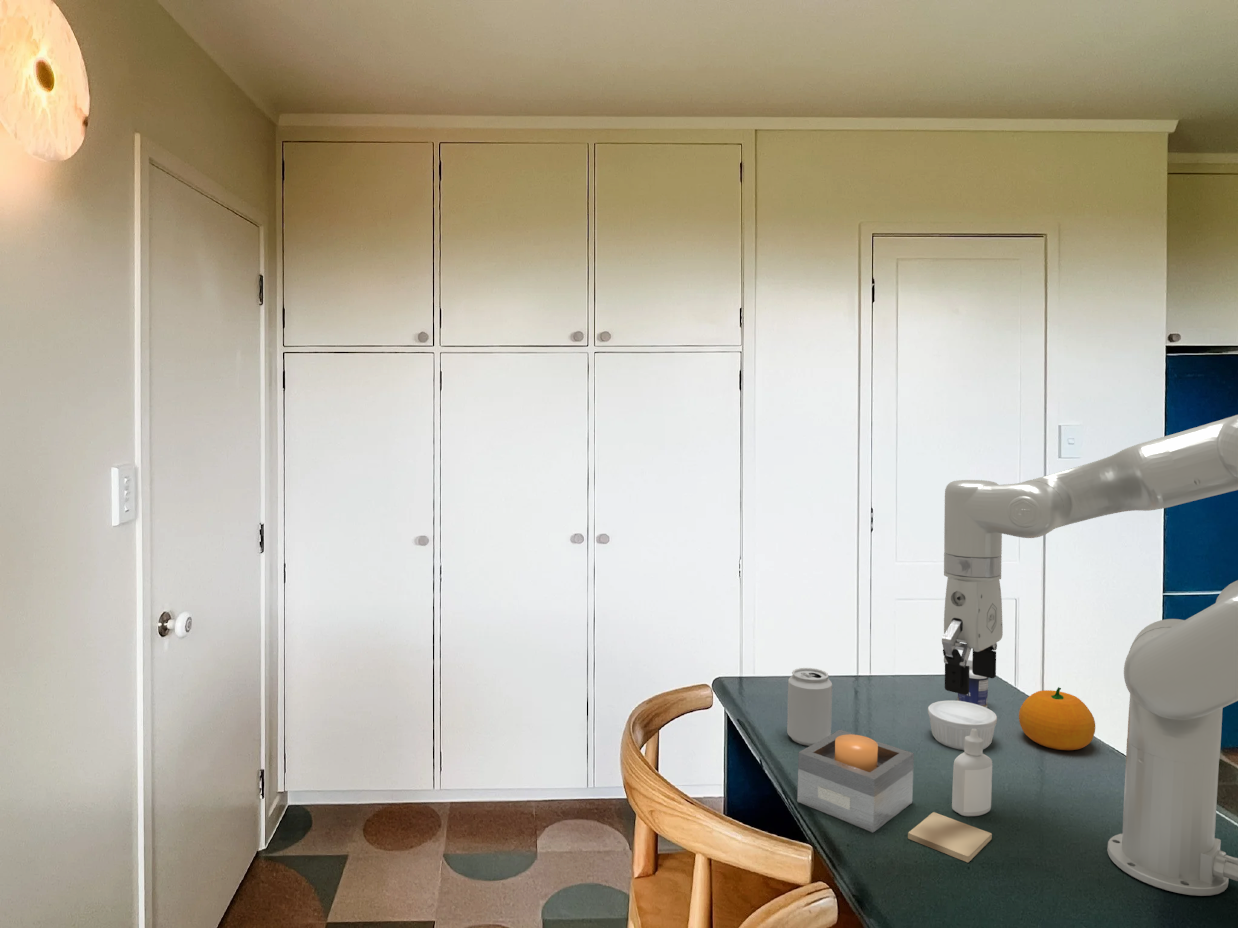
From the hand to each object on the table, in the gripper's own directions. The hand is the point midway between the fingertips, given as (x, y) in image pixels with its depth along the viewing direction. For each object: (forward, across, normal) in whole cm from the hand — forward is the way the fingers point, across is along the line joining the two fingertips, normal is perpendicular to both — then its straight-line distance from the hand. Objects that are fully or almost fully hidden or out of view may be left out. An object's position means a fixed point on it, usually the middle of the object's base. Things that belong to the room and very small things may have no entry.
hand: (970, 683), depth 113 cm
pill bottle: (+18, +42, +16) cm, 48 cm away
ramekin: (+19, +24, +11) cm, 32 cm away
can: (+18, +4, +30) cm, 35 cm away
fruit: (+19, +35, -1) cm, 40 cm away
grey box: (+18, -10, +12) cm, 24 cm away
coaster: (+18, -10, -2) cm, 21 cm away
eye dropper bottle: (+19, 0, 0) cm, 19 cm away
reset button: (+15, -10, +12) cm, 22 cm away
